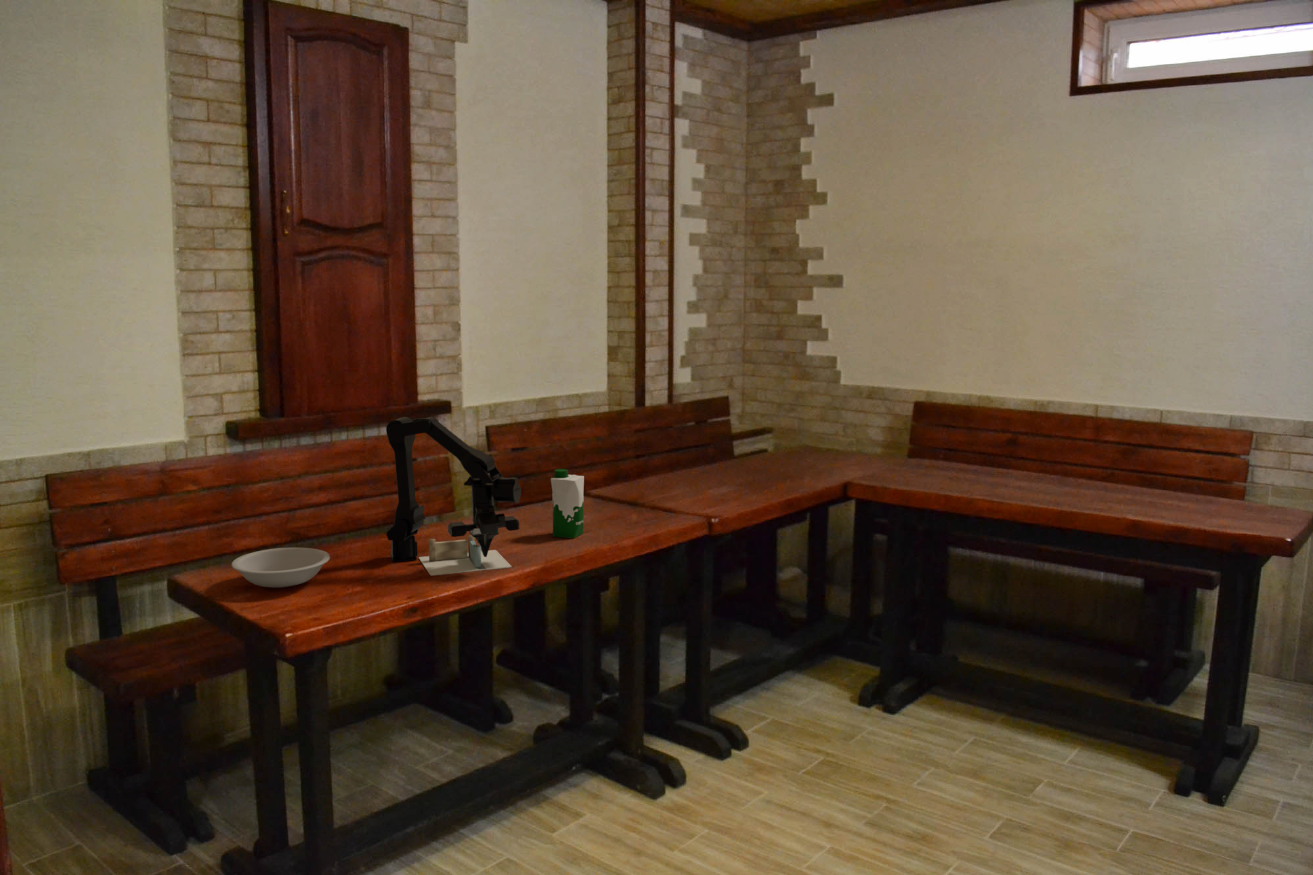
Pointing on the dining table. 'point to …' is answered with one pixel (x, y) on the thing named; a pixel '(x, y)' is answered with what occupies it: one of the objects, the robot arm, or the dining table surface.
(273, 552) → the soup bowl
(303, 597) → the dining table surface
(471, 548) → the fence flap
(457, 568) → the card
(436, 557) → the fence fixed
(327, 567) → the dining table surface
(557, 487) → the milk carton
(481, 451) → the robot arm
